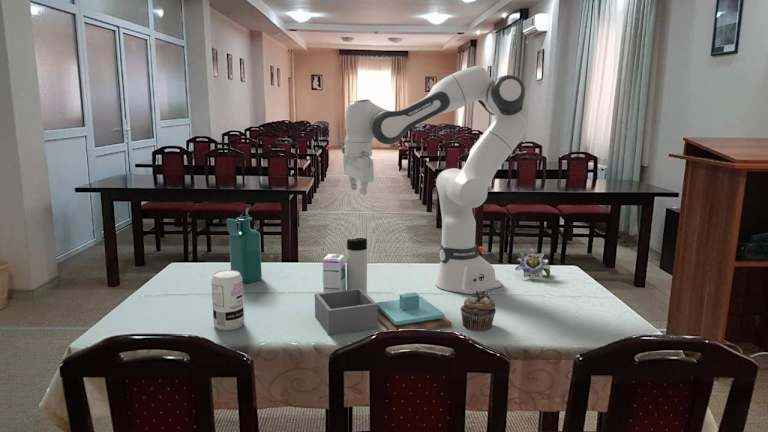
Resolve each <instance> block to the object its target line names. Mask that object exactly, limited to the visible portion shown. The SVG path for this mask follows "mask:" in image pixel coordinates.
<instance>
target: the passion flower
mask: <svg viewBox="0 0 768 432" xmlns="http://www.w3.org/2000/svg"><path fill="white" fill-rule="evenodd" d="M544 256H545V253H544V252H541V253H536V251H535V250H534V248H533V247H531V248H530V249H529V251H528V252H524V253H523V252H520V253H519V254H517V257H518V258H516V260H517V261H518V262H519V263H520V264H519V265H517V266H516V267H515V268H514V269H515V271H523V276H524V278H526V277H529V280H530V281H533V280H534V279H535V277H536V275H538V276H537V277H540V278H542V277H543V276H544V275H543V271H544V273H545V274H546V276H547V277H548V278H549V277H550V275H551V270H550V269H551V266H550V265H549V259H544Z"/></svg>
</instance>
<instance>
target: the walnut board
mask: <svg viewBox="0 0 768 432" xmlns="http://www.w3.org/2000/svg"><path fill="white" fill-rule="evenodd" d="M377 322H379V324H380V325H382V327H383V328H384V327H385V328H386V329H387V330H399V329H431V330H437V329H443V328H449V327H452V326H453V323H452V321H451V320H450V319H448V318H447V317H446V316H445V317H444V318H439V319H434V320H428V321H421V322H414V323H408V324H401V325H395V324H394V323H393V322H392V321H391V320H390V319H389V318H388V317H386V316H385V315H384V314H383V313H382V312H381V311H380V310H379V309H378V315H377ZM385 328H384V329H385ZM386 329H385V330H386ZM387 330H386V331H387Z"/></svg>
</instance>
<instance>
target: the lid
mask: <svg viewBox="0 0 768 432" xmlns="http://www.w3.org/2000/svg"><path fill="white" fill-rule="evenodd" d="M376 303H377V304H378V309H379V310H380V311H381V312H382V313H383V314H384V315H385V316H386V317H388V318H389V319H390V320H391V321H392V322H393V323H394V324H395V325H401V324H408V323H414V322H421V321H428V320H434V319H439V318H444V317H446V316H445V313H444V312H442V311H441V310H440V309H438V308H437V307H436V306H435V305H433V304H432V303H431V302H430V301H428V300H427V299H426V298H424V297H423V296H420V295H419V294H418V293H416V292H411V293H405V294H399V299H392V300H386V301H385V300H384V301H378V302H376Z"/></svg>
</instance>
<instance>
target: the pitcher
mask: <svg viewBox="0 0 768 432" xmlns="http://www.w3.org/2000/svg"><path fill="white" fill-rule="evenodd" d="M252 220H253V217H250V216H239V217H236V218H235V219H234V218H226V221H225V222H226V229H227V232H228V234H229V237H228V240H229V243H228V244H229V257H230V258H229V261H230V270H235V271H238V272H240V275H241V276H242V283H243V285H245V284H251V283H254V282H257V281H259V280H261V279H262V275H263V274H262V248H261V246H262V245H261V234H260V232H259V231H257V230H255V229H252V228H251V226H250V225H251V223H250V221H252Z"/></svg>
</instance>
